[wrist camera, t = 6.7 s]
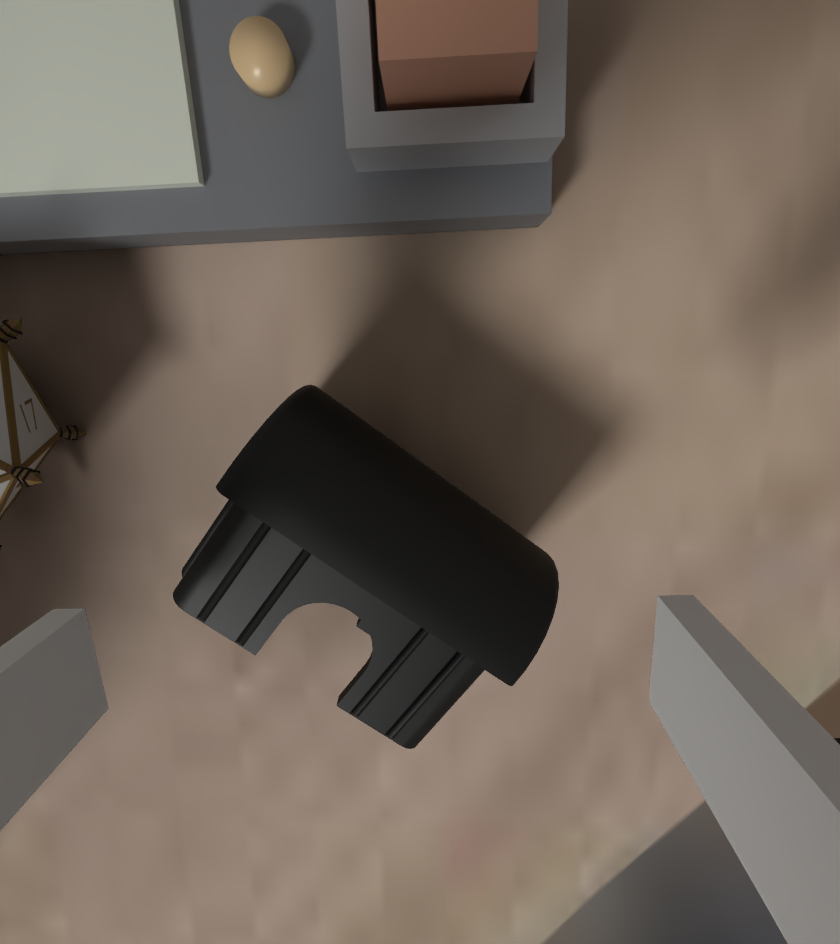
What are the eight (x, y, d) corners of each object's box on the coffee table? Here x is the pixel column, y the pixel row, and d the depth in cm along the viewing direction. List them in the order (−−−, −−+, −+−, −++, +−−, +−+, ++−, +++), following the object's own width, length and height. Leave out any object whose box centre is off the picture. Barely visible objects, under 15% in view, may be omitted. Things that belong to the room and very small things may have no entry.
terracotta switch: (390, 124, 15) (378, 60, 11) (382, -24, 14) (367, -141, 10) (512, 117, 15) (537, 51, 11) (512, -32, 14) (540, -153, 10)
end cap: (535, 523, 20) (586, 612, 14) (429, 648, 22) (430, 781, 15) (328, 372, 19) (275, 391, 12) (230, 516, 20) (137, 601, 14)
